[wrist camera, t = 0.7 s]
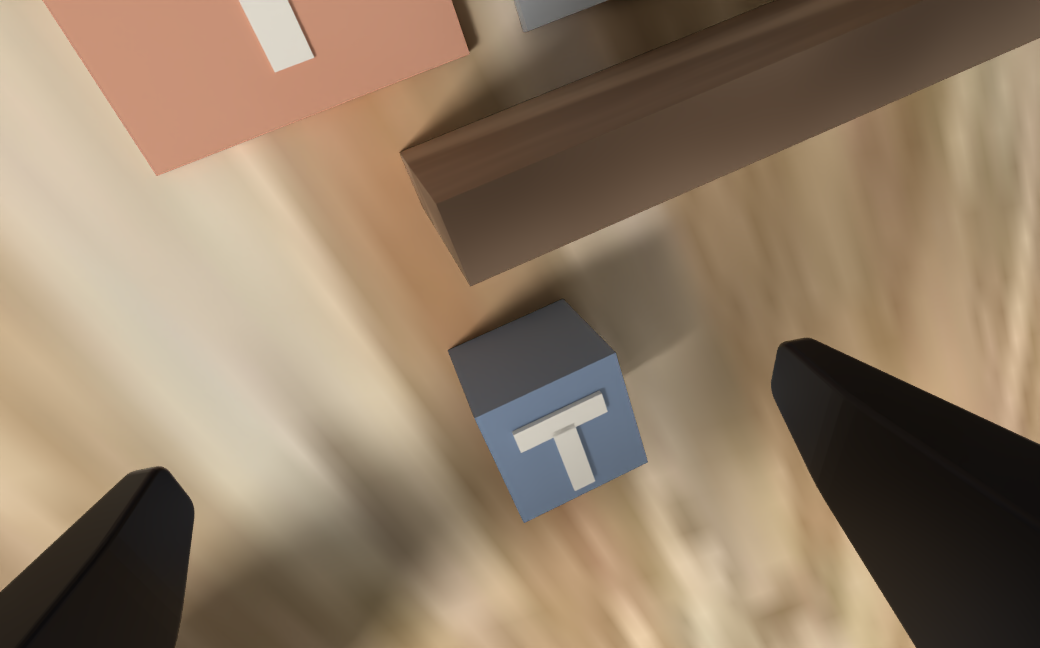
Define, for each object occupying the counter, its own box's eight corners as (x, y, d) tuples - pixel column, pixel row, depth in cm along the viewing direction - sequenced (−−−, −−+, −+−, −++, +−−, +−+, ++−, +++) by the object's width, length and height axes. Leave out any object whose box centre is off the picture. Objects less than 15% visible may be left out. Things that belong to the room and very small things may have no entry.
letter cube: (593, 393, 25) (650, 465, 21) (490, 442, 25) (525, 527, 20) (562, 298, 23) (618, 355, 18) (447, 349, 22) (476, 421, 18)
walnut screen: (821, 42, 22) (1054, 31, 15) (423, 208, 20) (470, 286, 13) (817, -17, 21) (1065, -59, 14) (399, 152, 19) (436, 203, 12)
